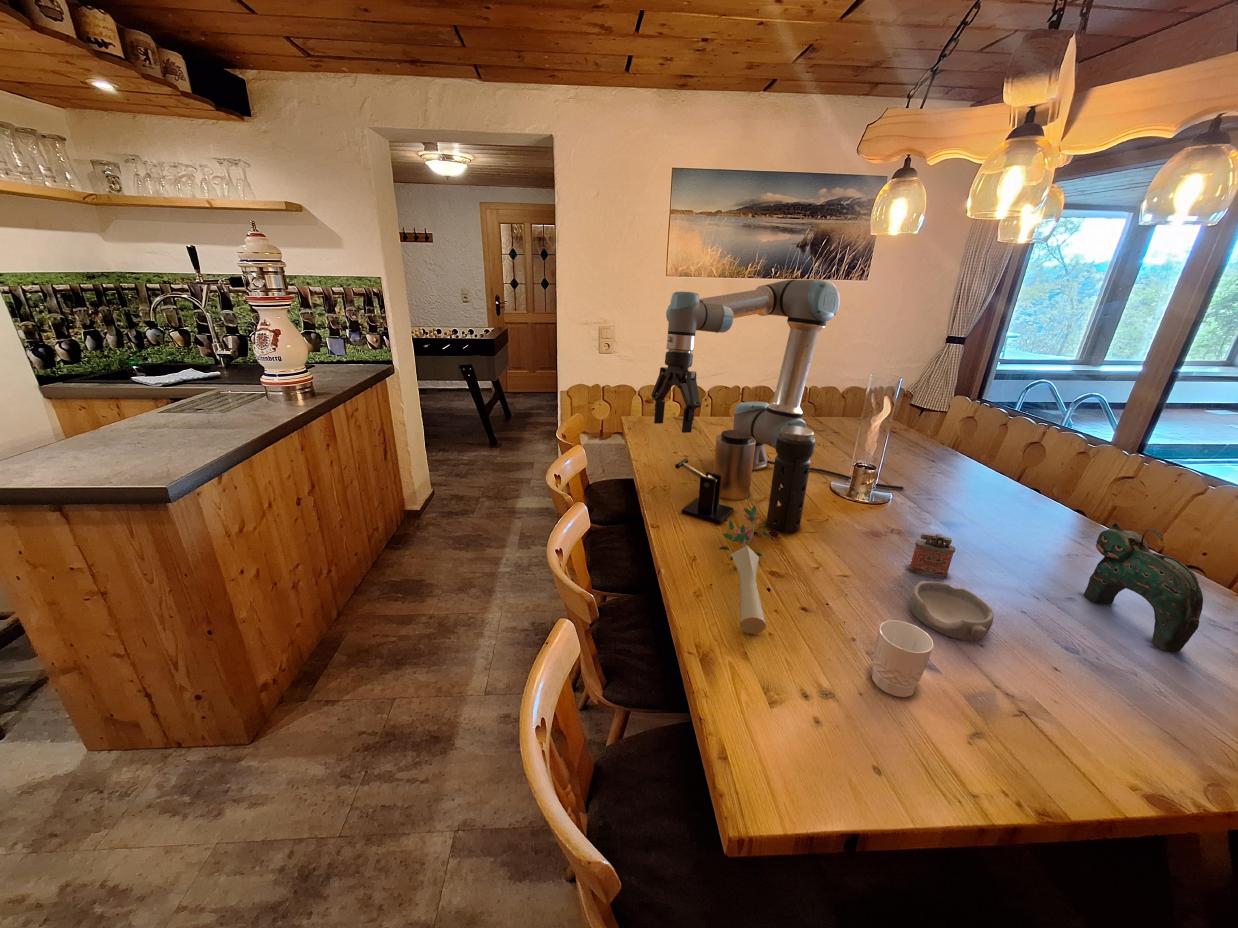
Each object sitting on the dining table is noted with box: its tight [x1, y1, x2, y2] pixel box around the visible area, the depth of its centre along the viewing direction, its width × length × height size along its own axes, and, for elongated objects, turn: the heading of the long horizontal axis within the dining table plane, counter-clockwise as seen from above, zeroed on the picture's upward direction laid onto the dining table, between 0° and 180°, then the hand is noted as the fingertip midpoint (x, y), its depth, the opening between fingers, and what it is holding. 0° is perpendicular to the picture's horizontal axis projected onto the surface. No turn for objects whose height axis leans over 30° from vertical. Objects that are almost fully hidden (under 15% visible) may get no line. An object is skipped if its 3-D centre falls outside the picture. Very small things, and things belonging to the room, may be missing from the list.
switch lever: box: [674, 458, 718, 482], centre depth 142 cm, size 12×6×2 cm, turn 57°
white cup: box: [870, 619, 935, 698], centre depth 83 cm, size 8×8×10 cm
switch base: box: [681, 471, 735, 526], centre depth 141 cm, size 12×10×12 cm
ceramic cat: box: [1083, 522, 1204, 652], centre depth 97 cm, size 20×6×20 cm, turn 178°
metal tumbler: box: [712, 429, 756, 501], centre depth 154 cm, size 12×12×20 cm
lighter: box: [908, 532, 956, 579], centre depth 114 cm, size 8×3×10 cm, turn 71°
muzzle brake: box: [765, 426, 816, 534], centre depth 131 cm, size 10×28×10 cm
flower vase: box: [718, 504, 772, 635], centre depth 110 cm, size 12×12×35 cm
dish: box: [909, 580, 995, 641], centre depth 99 cm, size 14×14×5 cm
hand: (671, 427), depth 139 cm, fingers open, 13 cm apart
